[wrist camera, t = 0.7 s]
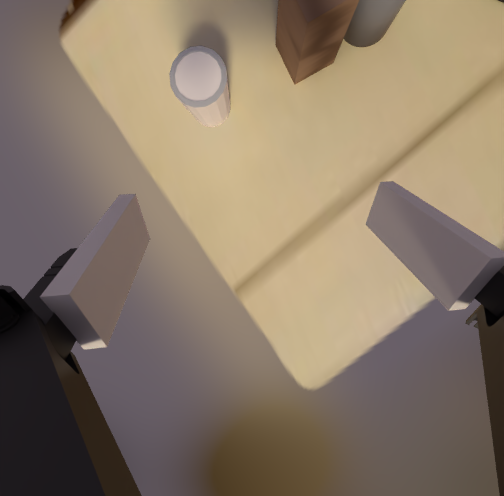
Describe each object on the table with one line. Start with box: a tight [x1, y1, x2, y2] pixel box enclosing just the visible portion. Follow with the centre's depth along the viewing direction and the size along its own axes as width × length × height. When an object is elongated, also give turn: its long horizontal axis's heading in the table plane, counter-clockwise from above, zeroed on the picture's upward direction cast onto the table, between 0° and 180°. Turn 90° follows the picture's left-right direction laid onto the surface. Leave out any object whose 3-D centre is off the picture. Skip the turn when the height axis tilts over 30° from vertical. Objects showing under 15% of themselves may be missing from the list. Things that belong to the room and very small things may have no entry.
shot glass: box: [170, 46, 230, 127], centre depth 30 cm, size 7×7×7 cm
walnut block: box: [276, 0, 359, 84], centre depth 28 cm, size 6×6×10 cm
